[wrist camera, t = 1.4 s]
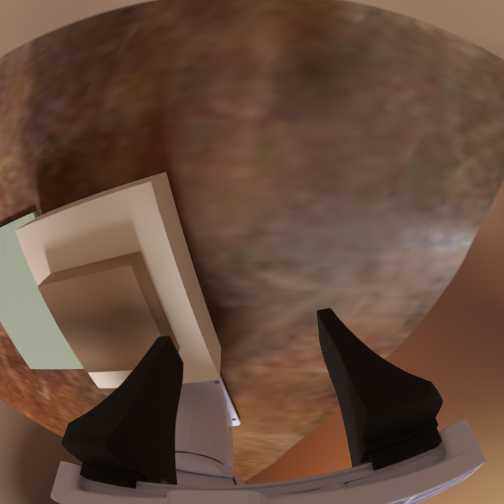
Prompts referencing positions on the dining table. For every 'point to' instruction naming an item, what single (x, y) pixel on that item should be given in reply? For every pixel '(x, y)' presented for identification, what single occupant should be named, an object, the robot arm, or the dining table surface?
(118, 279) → the walnut tile
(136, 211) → the cream flat block
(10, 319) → the mat
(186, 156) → the dining table surface
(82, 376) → the dining table surface
